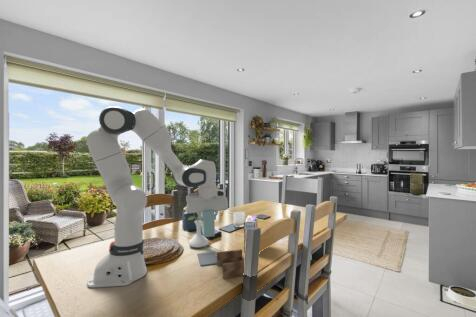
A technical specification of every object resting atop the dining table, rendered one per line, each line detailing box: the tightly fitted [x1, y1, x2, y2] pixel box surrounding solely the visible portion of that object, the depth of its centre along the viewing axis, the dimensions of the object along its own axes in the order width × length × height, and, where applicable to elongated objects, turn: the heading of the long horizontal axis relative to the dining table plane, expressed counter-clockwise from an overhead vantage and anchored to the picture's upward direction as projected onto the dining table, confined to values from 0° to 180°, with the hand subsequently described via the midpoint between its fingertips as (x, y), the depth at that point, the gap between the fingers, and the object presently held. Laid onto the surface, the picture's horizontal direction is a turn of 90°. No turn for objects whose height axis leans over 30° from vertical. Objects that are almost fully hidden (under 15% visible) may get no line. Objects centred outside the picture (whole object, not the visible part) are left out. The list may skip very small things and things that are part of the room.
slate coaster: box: [196, 251, 217, 267], centre depth 119 cm, size 9×13×1 cm
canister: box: [181, 206, 201, 232], centre depth 167 cm, size 13×13×18 cm
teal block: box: [200, 210, 216, 238], centre depth 118 cm, size 5×9×12 cm, turn 16°
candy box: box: [243, 214, 259, 253], centre depth 132 cm, size 14×6×16 cm, turn 168°
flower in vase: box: [185, 205, 210, 249], centre depth 136 cm, size 13×11×25 cm
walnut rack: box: [216, 249, 245, 280], centre depth 108 cm, size 12×13×6 cm
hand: (207, 220), depth 118 cm, fingers closed on teal block, 5 cm apart
